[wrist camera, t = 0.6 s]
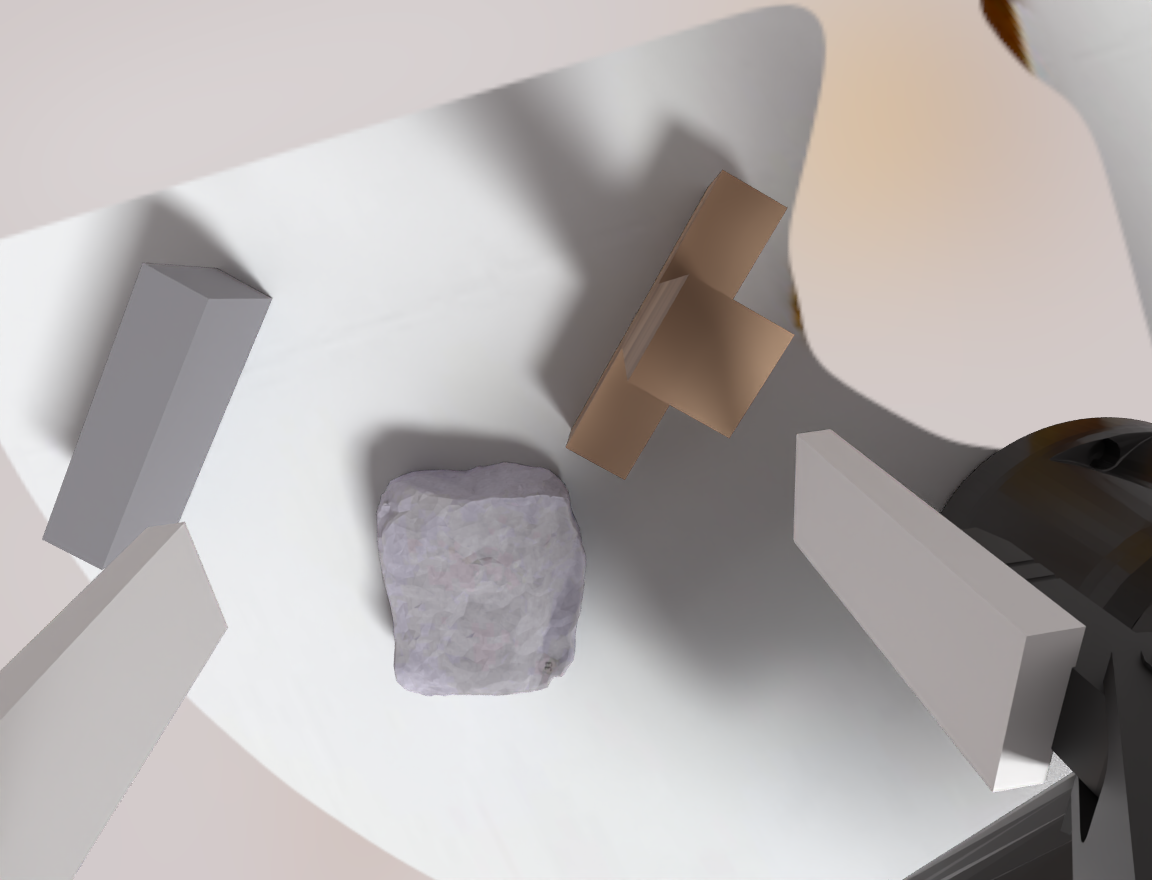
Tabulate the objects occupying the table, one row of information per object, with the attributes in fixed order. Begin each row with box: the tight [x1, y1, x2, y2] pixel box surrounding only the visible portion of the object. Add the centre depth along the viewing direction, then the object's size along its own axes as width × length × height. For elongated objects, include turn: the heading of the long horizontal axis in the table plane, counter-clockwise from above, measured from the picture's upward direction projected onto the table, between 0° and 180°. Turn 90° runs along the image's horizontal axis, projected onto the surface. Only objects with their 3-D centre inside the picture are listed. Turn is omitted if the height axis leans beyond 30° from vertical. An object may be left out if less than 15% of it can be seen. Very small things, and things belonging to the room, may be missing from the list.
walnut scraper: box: [566, 170, 794, 480], centre depth 23 cm, size 3×13×15 cm, turn 151°
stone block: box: [377, 462, 586, 696], centre depth 32 cm, size 12×5×10 cm
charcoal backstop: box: [43, 263, 272, 570], centre depth 30 cm, size 3×14×5 cm, turn 151°
